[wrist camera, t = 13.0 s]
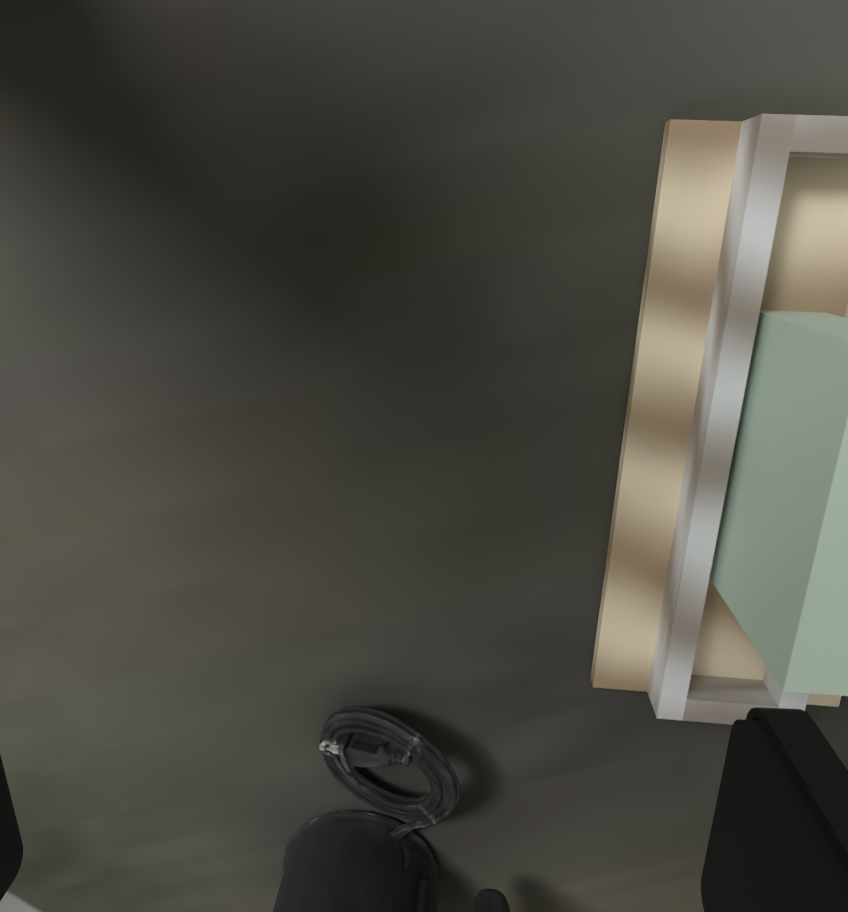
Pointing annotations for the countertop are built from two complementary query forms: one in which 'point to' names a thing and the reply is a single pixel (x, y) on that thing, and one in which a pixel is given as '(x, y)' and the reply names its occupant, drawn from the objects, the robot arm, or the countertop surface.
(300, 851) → the milk frother
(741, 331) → the door track
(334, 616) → the countertop surface
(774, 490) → the door panel
